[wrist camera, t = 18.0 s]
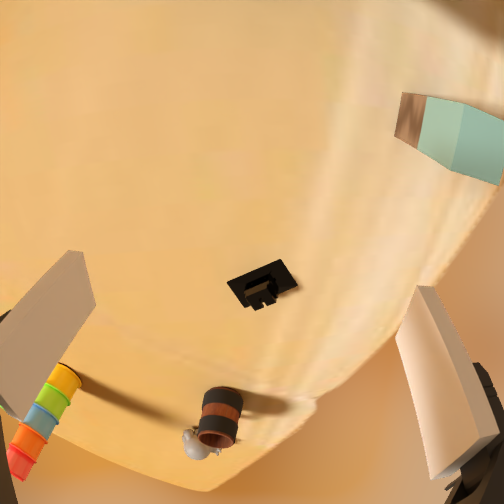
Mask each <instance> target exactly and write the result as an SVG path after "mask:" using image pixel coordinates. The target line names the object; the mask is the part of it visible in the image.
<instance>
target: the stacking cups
mask: <svg viewBox="0 0 504 504" xmlns="http://www.w3.org/2000/svg"><path fill="white" fill-rule="evenodd" d="M81 385H82V383H81V380H80V379H79V377H78V376H77V375H76V374H75V373H74V372H73V371H72V370H70V369H69V368H67V367H66V366H64V365H62V364H59V363H57V365H56V366H55V368H54V370H53V371H52V373H51V375H50V376H49V378H48V379H47V381H46V383H45V384H44V386H43V388H42V389H41V391H40V393H39V395H38V396H37V398H36V400H35V401H34V403H33V405H32V407H31V408H30V410H29V412H28V414H27V416H26V417H25V419H24V421H23V422H20V423H19V425H20V427H19V428H18V431H17V432H16V434H15V436H14V438H13V440H12V442H11V443H9V445H10V447H9V449H8V450H7V452H6V454H7V460H8V465H9V469H10V474H12V475H13V476H14V477H16V478H18V479H19V480H20V481H22V482H23V480H26V478H27V476H28V474H29V472H30V470H31V468H32V466H33V464H34V463H36V460H37V457H38V456H39V454H40V452H41V450H42V448H43V446H44V444H48V442H47V440H48V438H49V436H50V435H51V433H52V431H53V429H54V427H55V425H58V424H59V419H60V417H61V416H62V414H63V412H64V410H65V408H66V406H70V404H71V402H70V400H71V398H72V397H73V395H74V393H75V391H76V389H77V388H80V387H81Z"/></svg>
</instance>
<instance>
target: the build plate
mask: <svg viewBox="0 0 504 504" xmlns="http://www.w3.org/2000/svg"><path fill="white" fill-rule="evenodd" d="M227 284H228V285H229V287H230V288H231V290H232V291H233V292H234V294H235V295H236V297H237V298H238V299H239V301H240V302H241V304H242V305H243V306H244V308H246V307H249V306H252V308H253V309H254V310H255V311H256V310H259V309H261V308H264V305H263V304H262V303H263V302H265V304H266V305H267V306H269V305H271V304H274V303H276V298H278V294H280V293H282V292H284V291H287V290H289V289H291V288H294V287H296V286H298V285H297V283H296V281H295V280H294V278H293V277H292V275H291V274H290V272H289V271H288V269H287V268H286V266H285V265H284V263H283V262H282V260H281V259H279V260H277V261H274V262H272V263H270V264H267V265H265V266H263V267H260V268H258V269H256V270H253V271H251V272H249V273H246V274H244V275H242V276H239V277H237V278H235V279H232V280H230V281H228V282H227Z"/></svg>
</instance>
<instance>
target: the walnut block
mask: <svg viewBox="0 0 504 504" xmlns="http://www.w3.org/2000/svg"><path fill="white" fill-rule="evenodd" d="M426 101H427V96H423V95H416V94H410V93H403V92H402V97H401V103H400V109H399V114H398V120H397V125H396V130H395V135H394V136H395V137H397V138H399V139H400V140H402V141H404V142H406V143H407V144H409V145H411V146H412V147H414V148H416V149H417V147H418V142H419V138H420V133H421V128H422V123H423V117H424V112H425V106H426Z"/></svg>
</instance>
